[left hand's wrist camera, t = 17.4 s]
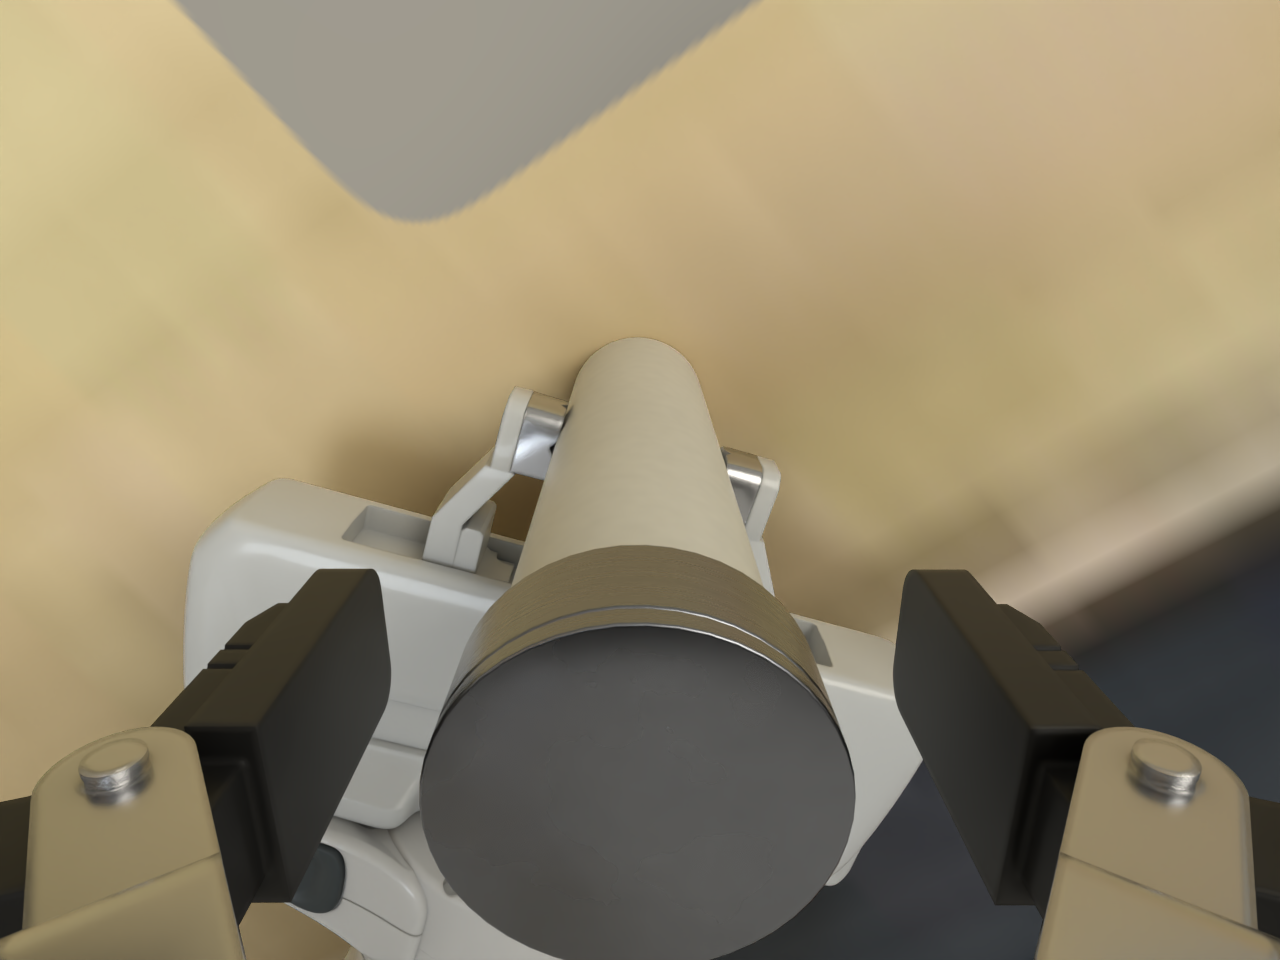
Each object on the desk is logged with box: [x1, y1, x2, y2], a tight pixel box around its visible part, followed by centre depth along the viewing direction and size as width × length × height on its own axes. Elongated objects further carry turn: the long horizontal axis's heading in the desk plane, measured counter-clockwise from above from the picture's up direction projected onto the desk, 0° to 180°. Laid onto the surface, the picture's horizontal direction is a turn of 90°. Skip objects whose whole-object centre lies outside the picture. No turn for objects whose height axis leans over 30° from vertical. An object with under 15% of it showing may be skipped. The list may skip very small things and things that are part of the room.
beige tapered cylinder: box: [511, 337, 764, 587], centre depth 18 cm, size 4×4×18 cm
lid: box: [419, 545, 856, 960], centre depth 10 cm, size 5×5×2 cm
